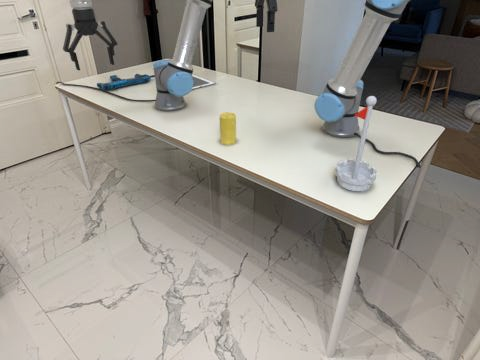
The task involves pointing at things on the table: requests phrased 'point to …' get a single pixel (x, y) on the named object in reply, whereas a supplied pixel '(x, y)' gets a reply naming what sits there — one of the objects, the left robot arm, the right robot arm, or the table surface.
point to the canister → (227, 128)
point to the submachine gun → (123, 81)
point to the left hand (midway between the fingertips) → (95, 66)
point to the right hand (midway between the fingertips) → (264, 29)
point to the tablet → (200, 82)
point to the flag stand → (358, 159)
